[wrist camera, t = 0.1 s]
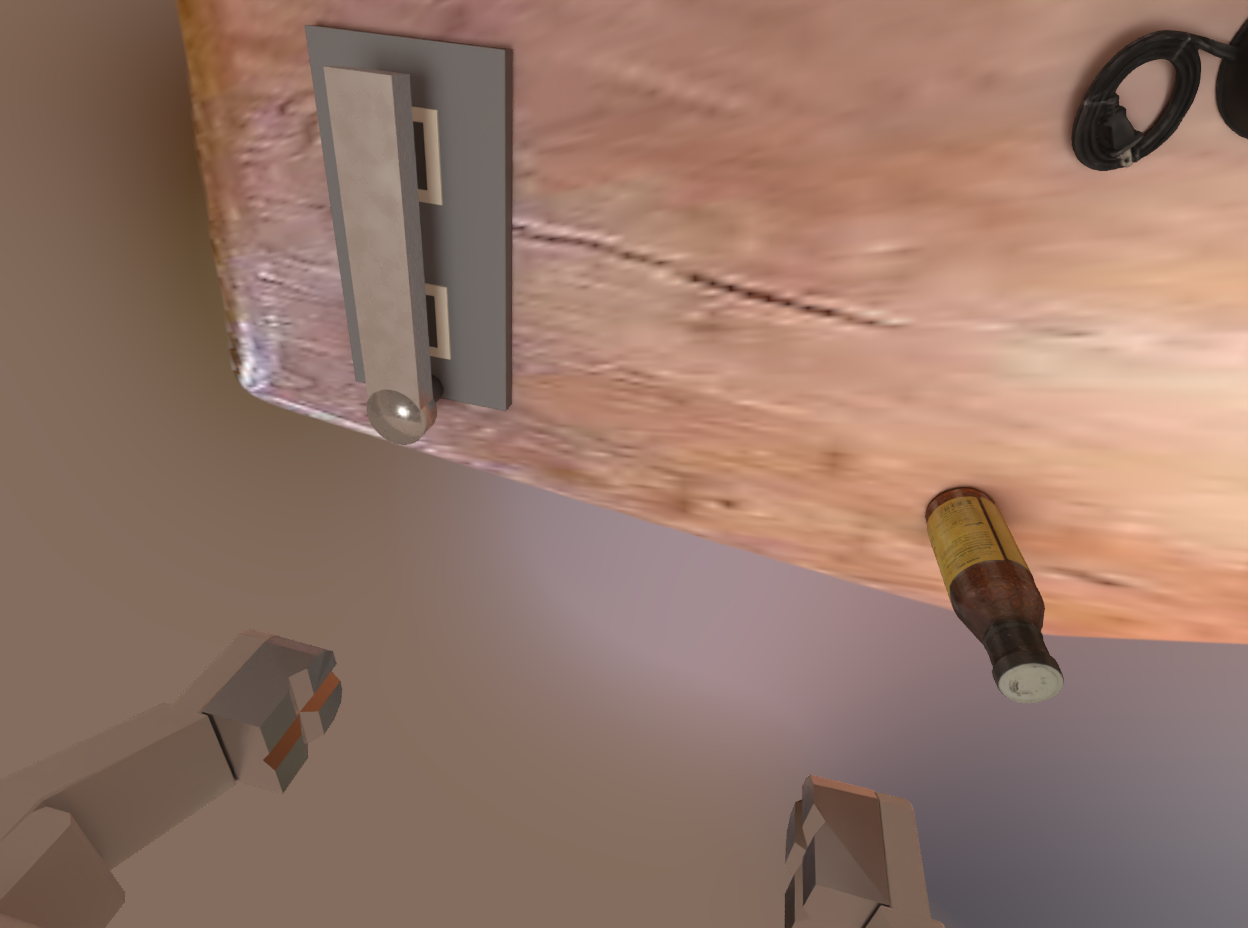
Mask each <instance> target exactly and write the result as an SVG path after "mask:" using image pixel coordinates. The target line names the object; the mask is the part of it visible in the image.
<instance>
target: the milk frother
mask: <svg viewBox="0 0 1248 928" xmlns="http://www.w3.org/2000/svg"><path fill="white" fill-rule="evenodd" d="M1198 49H1202V50H1204V51H1207V52H1209V53H1210V54H1212V55H1214V56H1217V57H1219V58H1223V61H1222V64H1221V67H1220V72H1219V75H1218V79H1217V86H1216V93H1217V102H1218V109H1219V112H1220V113H1221V116H1222V118H1223V119H1224V121H1225V123H1226V124H1227V125H1228V126H1229V127H1230V128H1231V129H1232V130H1233V131H1234V132H1236V133H1237V134H1238V135H1239V136H1242V137H1244V138H1247V139H1248V21H1247V22H1246V23H1245V24H1244V26H1243V27H1242V28H1241V30H1240V32H1239V33H1238V34H1237V35H1236V36H1235V38H1234V40H1233V41H1232V43H1231V45H1227V44H1223V43H1219V42H1216V41H1214V40H1211V39H1209V38H1206V37H1202V36H1198V35H1195V34H1190V33H1187V32H1180V31H1168V30H1166V31H1158V32H1154V33H1151V34H1148V35H1145V36H1143V37H1141V38H1139V39H1137V40H1135V41H1134V42H1132V43H1130V44H1129V45H1127V46H1126V47H1124V48H1123V49H1122V50H1121V51H1119V52H1118V53H1117V54H1116V55H1115V56H1114V57H1113V58H1112V59H1111V60H1110V61H1109V62H1108V63H1107V64H1106V65H1105V66H1104V67H1103V69H1102V70H1101V71H1100V72H1099V74H1098V75H1097V76H1096V78H1095V80H1094V81H1093V83H1092V84H1091V86H1090V88H1089V90H1088V91H1087V93H1086V95H1085V96H1084V98H1083V101H1082V103H1081V105H1080V107H1079V109H1078V112H1077V115H1076V118H1075V121H1074V125H1073V131H1072V147H1073V151H1074V153H1075V155H1076V157H1077V159H1078V160H1079V161H1080V162H1081V163H1082V164H1084V165H1085V166H1087V167H1089V168H1091V169H1093V170H1098V171H1108V170H1114V169H1117V168H1123V167H1129V166H1131V165H1132V163H1133V162H1137V161H1139V160H1140V159H1141V158H1143V157H1144V156H1147V155H1148V154H1150V153H1151V152H1153V151H1154V150H1155V149H1157V148H1158V147H1159V146H1160V145H1162V144H1163V143H1164V142H1165V141H1166V140H1167V139H1168V138H1169V137H1170V136H1171V135H1172V134H1173V133H1174V132H1175V130H1176V129H1177V128H1178V126H1179V124H1180V122H1181V121H1182V119H1183V117H1184V116H1185V114H1186V113H1187V111H1188V110H1189V108H1190V106H1191V105H1192V103H1193V101H1194V98H1195V96H1196V93H1197V90H1198V87H1199V83H1200V77H1201V61H1200V57H1199V53H1198ZM1157 59H1166V60H1169V61H1170V62H1171V63H1172V64H1173V66H1174V67H1175V70H1176V83H1175V88H1174V91H1173V95H1172V98H1171V100H1170V102H1169V104H1168V106H1167V108H1166V110H1165V112H1164V113H1163V115H1162V116H1161V118H1160V119H1159V121H1158V122H1157V123H1156V124H1155V126H1154V127H1153V128H1152V129H1151V130H1150V131H1149V132H1148V133H1147V134H1146V135H1145V136H1144V137H1143V133H1142V132H1140V131H1136V130H1135V129H1134V128H1133V126H1132V125H1131V123H1130V122H1129V120H1128V118H1127V117H1126V109H1125V108H1124V107H1123V106H1119V95H1117V94H1116V93H1115V92H1116V89H1117V88H1118V86H1119V85H1120V83H1121V82H1122V81H1123V80H1124V78H1125V77H1126V76H1127V75H1128V74H1129V73H1131V72H1132V71H1133V70H1134V69H1135V68H1137V67H1138V66H1140V65H1142V64H1144V63H1146V62H1149V61H1152V60H1157Z"/></svg>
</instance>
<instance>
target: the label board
mask: <svg viewBox="0 0 1248 928" xmlns="http://www.w3.org/2000/svg"><path fill="white" fill-rule="evenodd" d="M305 31H306V38H307V45H308V52H309V59H310V66H311V73H312V80H313V87H314V94H315V101H316V108H317V114H318V121H319V128H320V135H321V142H322V149H323V156H324V163H325V170H326V177H327V184H328V191H329V198H330V205H331V212H332V219H333V226H334V233H335V240H336V247H337V254H338V260H339V267H340V274H341V281H342V288H343V295H344V302H345V309H346V316H347V323H348V330H349V337H350V344H351V351H352V358H353V365H354V372H355V379H356V381H358V382H363V383H366V380H365V372H364V365H363V358H362V350H361V343H360V335H359V328H358V320H357V313H356V306H355V298H354V291H353V283H352V276H351V268H350V261H349V254H348V246H347V239H346V231H345V224H344V216H343V209H342V202H341V194H340V187H339V179H338V172H337V164H336V157H335V150H334V142H333V135H332V127H331V120H330V112H329V105H328V98H327V90H326V83H325V75H324V68H323V66H350V67H358V68H365V69H373V70H380V71H388V72H395V73H403V74H410V88H411V102H412V116H413V129H414V143H415V157H416V171H417V185H418V198H419V212H420V226H421V240H422V254H423V267H424V281H425V295H426V309H427V323H428V336H429V350H430V364H431V378H432V391H433V399H434V402H435V403H436V402H437V401H438V400H439V399H440V398H443V399H448V400H453V401H458V402H463V403H468V404H473V405H478V406H483V407H488V408H493V409H498V410H503V411H506V410H507V409H508V408H509V407H510V405H511V383H512V50H509V49H500V48H492V47H484V46H476V45H468V44H460V43H452V42H444V41H436V40H428V39H420V38H412V37H404V36H396V35H388V34H380V33H372V32H364V31H356V30H348V29H340V28H332V27H324V26H315V25H305Z"/></svg>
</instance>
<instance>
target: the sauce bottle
mask: <svg viewBox="0 0 1248 928" xmlns="http://www.w3.org/2000/svg"><path fill="white" fill-rule="evenodd" d="M925 517H926V522H927V532H928V536H929V539H930V542H931V545H932V548H933V551H934V554H935V557H936V559H937V563H938V565H939V568H940V572H941V575H942V577H943V580H944V584H945V586H946V589H947V592H948V596H949V598H950V601H951V604H952V606H953V609H954V611H955V613H956V615H957V616H958V617H959V619H960V620H961V621H962V622H963V623H964V624H965V625H966V626H967V628H968V629H969V630H970V631H971V632H972V633H973V634H974V635H975V636H976V638H977V639H978V640H979V641H980V642H981V643H982V644H983V645H984V647H985V649H986V650H987V652H988V655H989V657H990V660H991V663H992V665H993V670H992V674H993V678H994V680H995V682H996V684H997V687H998V688H999V690H1000V691H1001V693H1002V694H1004V695H1005V696H1006V697H1008V698H1009V699H1011V700H1014V701H1016V702H1020V703H1034V702H1040V701H1044V700H1046V699H1049V698H1051V697H1053V696H1055V695H1056V694H1057V693H1059V692H1060V690H1061V689H1062V687H1063V683H1064V679H1063V675H1062V673H1061V670H1060V668H1059V665H1058V664H1057V662H1056V660H1055V659H1054V658H1053V657H1052V656H1050V654H1049V652H1048V650H1047V648H1046V646H1045V644H1044V641H1043V635H1042V633H1041V629H1042V626H1043V618H1044V610H1045V607H1044V602H1043V599H1042V597H1041V595H1040V592H1039V591H1038V588H1036V585H1035V582H1034V579H1033V576H1032V574H1031V572H1030V570H1029V568H1028V566H1027V564H1026V562H1025V560H1024V558H1023V556H1022V554H1021V552H1020V550H1019V548H1018V546H1017V544H1016V542H1015V540H1014V538H1013V536H1012V534H1011V532H1010V530H1009V528H1008V526H1007V524H1006V522H1005V520H1004V518H1003V516H1002V515H1001V513H1000V511H999V509H998V508H997V506H996V505H995V503H994V501H993V500H991V499H990V498H989V497H988V496H987V495H985V494H983V493H981V492H979V491H976V490H974V489H970V488H960V489H955V490H949V491H947V492H945V493H942V494H941V495H939V496H937V497H936V498H935V499H934V500H933V501H932V502H931V503H930V505H929V507H928V508H927V511H926V516H925Z"/></svg>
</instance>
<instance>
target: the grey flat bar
mask: <svg viewBox="0 0 1248 928" xmlns="http://www.w3.org/2000/svg"><path fill="white" fill-rule="evenodd" d="M323 68H324V75H325V83H326V90H327V98H328V105H329V112H330V120H331V127H332V135H333V142H334V150H335V157H336V164H337V172H338V179H339V187H340V194H341V202H342V209H343V216H344V224H345V231H346V239H347V246H348V254H349V261H350V268H351V276H352V283H353V291H354V298H355V306H356V313H357V320H358V328H359V335H360V343H361V350H362V358H363V365H364V372H365V380H366V387H367V395H368V402H367V415H368V418H369V421H370V423H371V424H372V426H373V427H374V429H375V430H376V431H377V432H378V433H379V434H380V435H381V436H382V437H384V438H385V439H387V440H389V441H391V442H393V443H397V444H402V445H407V444H412V443H414V442H416V441H418V440H419V439H420V438H421V437H422V436H423V435H424V434H425V433H426V432H427V431H428V430H429V428H430V427H431V426H432V425H433V424H434V422H435V420H436V417H437V408H436V404H435V402H434V399H433V391H432V378H431V364H430V350H429V336H428V323H427V309H426V295H425V281H424V267H423V254H422V240H421V226H420V212H419V198H418V185H417V171H416V157H415V143H414V129H413V116H412V102H411V88H410V74H403V73H395V72H388V71H380V70H373V69H365V68H358V67H350V66H323Z"/></svg>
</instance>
